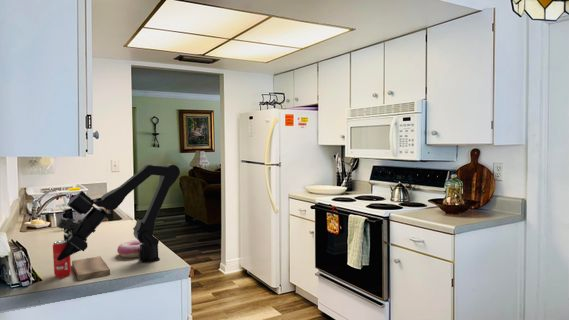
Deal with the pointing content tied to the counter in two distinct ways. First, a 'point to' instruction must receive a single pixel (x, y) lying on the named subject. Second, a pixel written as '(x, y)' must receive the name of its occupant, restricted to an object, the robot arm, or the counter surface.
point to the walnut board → (90, 268)
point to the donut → (129, 249)
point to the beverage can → (64, 265)
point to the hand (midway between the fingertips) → (57, 257)
